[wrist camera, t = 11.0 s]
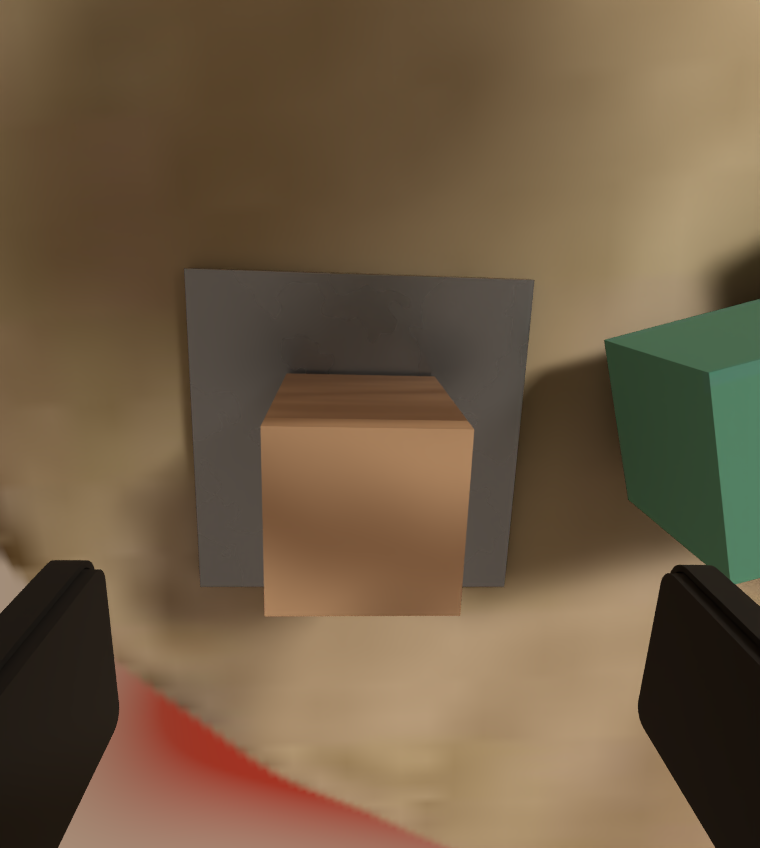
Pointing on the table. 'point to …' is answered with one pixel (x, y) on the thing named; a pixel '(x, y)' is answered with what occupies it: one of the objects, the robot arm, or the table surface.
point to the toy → (695, 431)
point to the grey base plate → (348, 355)
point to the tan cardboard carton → (364, 497)
